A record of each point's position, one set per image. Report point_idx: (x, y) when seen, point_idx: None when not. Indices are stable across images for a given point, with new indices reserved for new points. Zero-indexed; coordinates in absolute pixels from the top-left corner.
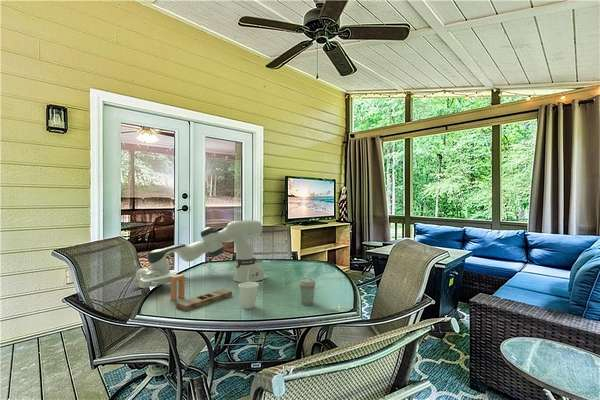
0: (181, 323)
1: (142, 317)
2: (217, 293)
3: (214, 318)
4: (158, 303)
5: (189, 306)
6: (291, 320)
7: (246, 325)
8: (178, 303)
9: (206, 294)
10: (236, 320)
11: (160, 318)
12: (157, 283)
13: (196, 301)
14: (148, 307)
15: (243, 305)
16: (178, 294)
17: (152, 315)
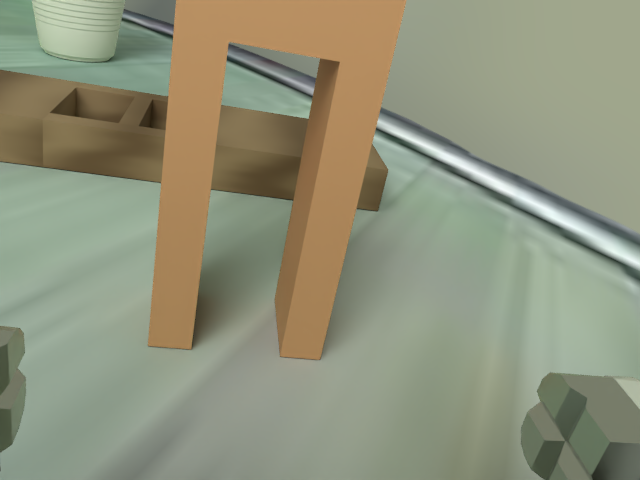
0: (429, 134)
1: (626, 249)
2: (3, 87)
3: (290, 93)
4: (496, 352)
5: None
6: (128, 15)
7: (249, 53)
8: (380, 158)
9: (78, 117)
10: (242, 65)
11: (513, 192)
12: (600, 379)
13: (261, 117)
14: (605, 340)
15: (115, 43)
16: (195, 313)
17: (560, 232)
